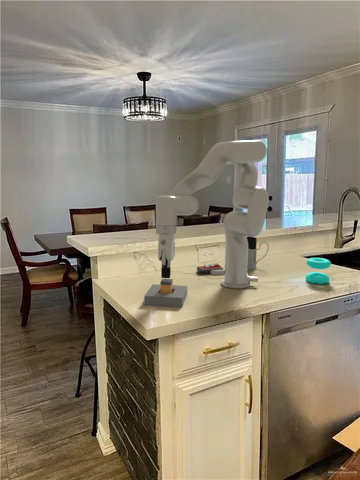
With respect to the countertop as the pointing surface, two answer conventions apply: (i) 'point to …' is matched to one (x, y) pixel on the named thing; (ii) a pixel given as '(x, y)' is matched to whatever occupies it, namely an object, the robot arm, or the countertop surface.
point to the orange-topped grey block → (166, 285)
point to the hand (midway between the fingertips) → (165, 277)
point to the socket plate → (165, 296)
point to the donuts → (317, 276)
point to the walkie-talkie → (210, 269)
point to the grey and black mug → (253, 252)
